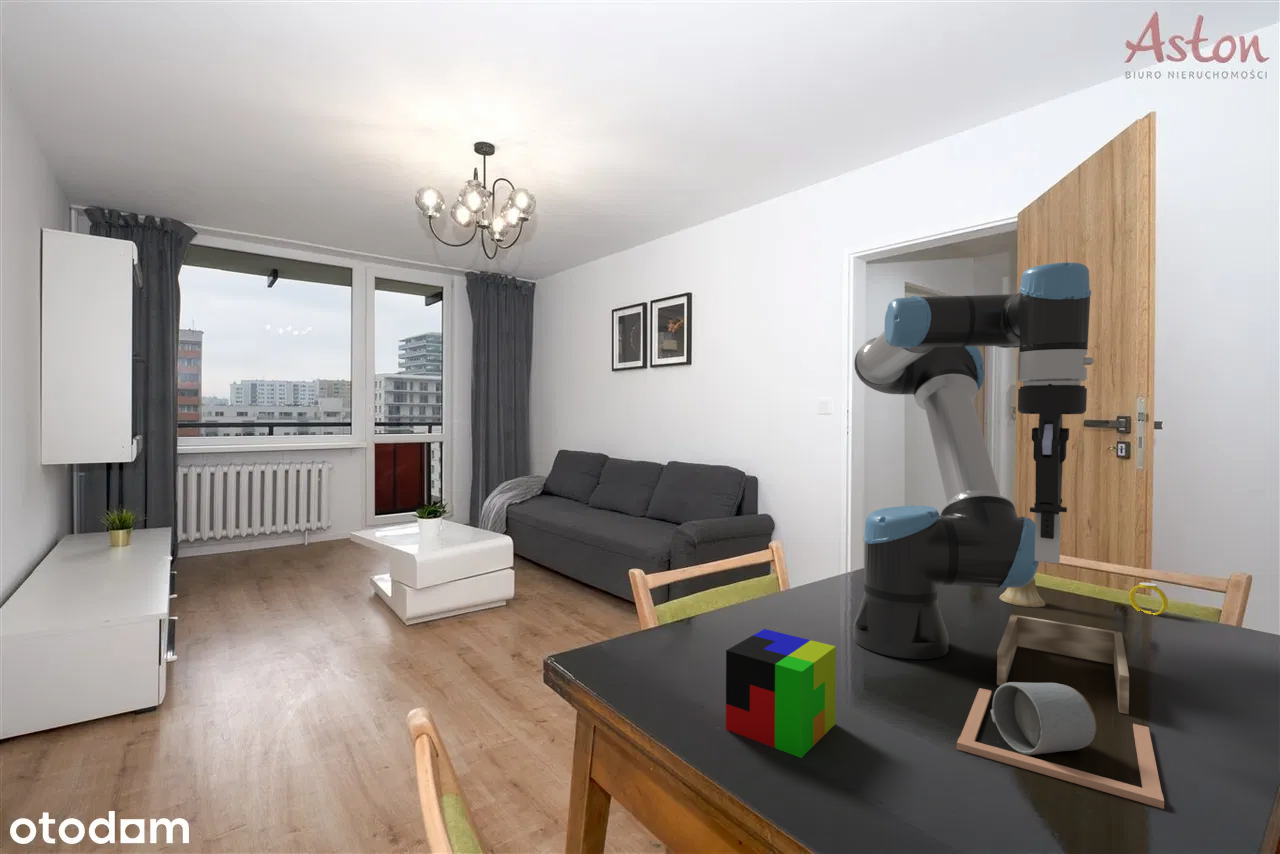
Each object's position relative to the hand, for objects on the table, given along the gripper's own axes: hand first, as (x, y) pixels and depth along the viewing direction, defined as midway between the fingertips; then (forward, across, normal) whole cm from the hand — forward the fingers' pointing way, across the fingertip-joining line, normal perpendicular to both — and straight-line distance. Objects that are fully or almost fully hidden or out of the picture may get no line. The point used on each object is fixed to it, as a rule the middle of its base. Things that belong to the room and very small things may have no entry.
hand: (1047, 560), depth 82 cm
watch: (+21, +60, -14) cm, 65 cm away
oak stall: (+20, +14, -1) cm, 25 cm away
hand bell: (+22, +54, +7) cm, 58 cm away
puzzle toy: (+20, -27, +26) cm, 42 cm away
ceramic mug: (+20, -12, 0) cm, 23 cm away
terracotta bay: (+20, -9, -2) cm, 22 cm away
